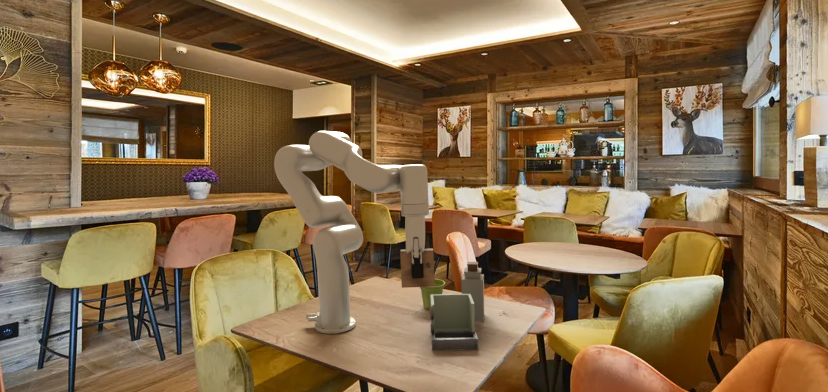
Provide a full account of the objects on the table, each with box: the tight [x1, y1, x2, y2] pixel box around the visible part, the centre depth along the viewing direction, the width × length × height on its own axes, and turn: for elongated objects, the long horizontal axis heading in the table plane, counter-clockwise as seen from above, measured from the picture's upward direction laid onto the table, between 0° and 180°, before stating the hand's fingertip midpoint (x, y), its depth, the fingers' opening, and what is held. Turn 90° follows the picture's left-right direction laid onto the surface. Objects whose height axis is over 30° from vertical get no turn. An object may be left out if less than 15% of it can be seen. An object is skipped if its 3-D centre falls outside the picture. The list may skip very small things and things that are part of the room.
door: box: [399, 248, 436, 288], centre depth 113 cm, size 9×3×10 cm, turn 88°
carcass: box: [431, 293, 476, 333], centre depth 120 cm, size 12×9×11 cm
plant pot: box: [419, 278, 446, 310], centre depth 145 cm, size 9×9×9 cm
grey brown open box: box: [429, 306, 479, 352], centre depth 114 cm, size 13×6×11 cm, turn 89°
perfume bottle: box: [461, 261, 485, 323], centre depth 134 cm, size 7×7×18 cm
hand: (417, 275), depth 114 cm, fingers closed on door, 2 cm apart
